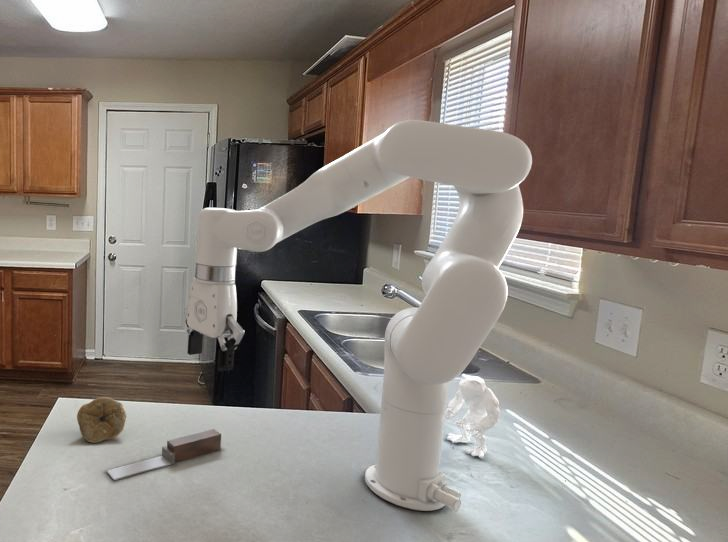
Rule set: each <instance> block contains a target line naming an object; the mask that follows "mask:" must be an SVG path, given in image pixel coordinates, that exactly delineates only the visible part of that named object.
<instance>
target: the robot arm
mask: <svg viewBox="0 0 728 542" xmlns="http://www.w3.org/2000/svg"><path fill="white" fill-rule="evenodd" d="M532 165H533V156H532V151H531V150H530V148H529V147H528V145H527V144H526V143H525V141H524V140H522V139H520V138H519V137H517V136H515V135H513V134H510V133H507V132H503V131H499V130H493V129H492V130H490V129H484V128H477V127H469V126H462V125H456V124H449V123H444V122H443V123H442V122H436V121H430V120H422V119H405V120H402V121H398V122H396V123H394V124H393V125H391V126H390V127H389V128H387V130H385V131H384V132H382V133H381V134H380V135H377V136H376V137H374V138H372V139H370V140H368V141H367V142H365V143H364V144H361V145H360V146H358V147H357V148H355V149H352V150H351V151H350V152H348V153H346V154H344V155H343V156H341V157H339V158H337V159H335V160H334V161H331V162H330V163H327V164H326V165H324V166H322V167H321V168H319V169H318V170H316V171H315V172H313V173H312V174H311V175H310V176H309V177H308V178H307V179H306V180H305V181H303V182H302V183H300V184H299V185H298V186H296V187H294V188H293V189H291V190H290V191H288V192H286V193H285V194H283V195H281V196H280V197H278V198H276V199H274V200H273V201H271V202H269V203H267V204H265V205H263V206H262V207H259V208H257V209H250V210H235V209H234V208H225V207H204V208H202V209H201V210H200V211H199V214H198V222H197V223H198V224H197V237H196V238H197V239H196V254H195V255H196V256H195V270H194V277H193V278H192V281H191V284H190V285H191V286H190V290H189V294H188V295H189V296H188V302H187V307H186V308H184V310H183V312H184V317H185V325H186V327H187V329H186V333H187V334H188V336H187V337H188V339H187V355H189V356H192V355H199V354H200V355H201V354H202V353H203V345H204V335H205V336H207V337H209V338H212V339H216V338H217V340H218V343H219V346H220V349H218V355H217V368H216V369H217V371H219V372H227V371H231V370H234V361H235V360H234V359H235V350H237V348H238V346H240V344H241V342H242V339H243V338H244V335H245V329H243V327H242V326H241V325H240V323H238V321H237V317H238V313H237V312H238V299H237V298H238V297H237V286H236V271H237V258H238V257H237V256H238V249H241V250H244V251H249V252H255V253H262V252H267V251H269V250H271V249H272V248H273V247H275V245H276V244H277V243H280V242H281V241H283V240H286V239H287V238H289V237H290V236H293V235H294V234H297V233H298V232H300V231H302V230H304V229H306V228H307V227H309V226H312V225H314V224H316V223H318V222H320V221H323V220H327V219H329V218H332V217H333V218H334V217H335V216H336V217H337V216H339V215H341V214H343V213H345V212H347V211H349V210H351V209H353V208H355V207H357V206H358V205H360V204H362V203H364V202H366V201H368V200H370V199H372V198H374V197H375V196H377V195H378V196H379V195H380V194H381V193H383V192H385V191H387V190H389V189H391V188H393V187H395V186H396V185H398V184H401V183H402V182H404V181H406V180H408V179H410V178H412V179H417V180H422V181H427V182H431V183H437V184H441V185H442V184H443V185H447V186H453V187H454V189H455V190H456V192H457V195H458V202H459V205H458V209H457V213H456V216H455V218H454V220H453V222H452V225H451V226H450V228H449V230H448V232H447V233H446V235H445V237H444V239H443V240H442V241H441V243H440V245H439V247H438V248H437V250H436V251H435V254H434V255H433V257H432V258H431V259H430V261H429V263H428V264H427V265H426V267H425V269H424V271H423V273H422V276H421V288H422V290H423V293H424V294H425V296H424V298H423V299H422V301H421V303H420V304H419V306H418V307H416V306H415V307H407V308H404V309H402V310H400V311H398V312H396V313H395V314H394V315H393V316H392V317H391V319H390V320H389V321H388V323H387V326H386V328H385V331H384V332H385V333H384V348H383V349H384V350H383V351H384V352H383V353H384V354H383V355H384V356H383V359H384V360H383V361H384V362H383V380H382V392H381V401H380V402H381V403H380V411H379V412H380V414H379V425H378V436H377V437H378V438H377V447H376V457H375V458H376V460H375V464H372V465H370V466H368V467H367V468H366V470H365V472H364V482H365V484H366V486H368V488H369V489H370V491H372V492H373V493H374V494H376V495H377V496H378V497H380V498H381V499H383V500H385V501H386V502H389V503H391V504H393V505H396V506H399V507H402V508H405V509H410V510H413V511H422V512H423V511H424V512H428V511H430V512H431V511H437V510H440V509H442V508H444V507H447V508H449V509H451V510H453V511H455V512H458V511H459V510H460V508H461V505H462V500H461V498H462V493H461V492H460V491H458V490H456V489H454V488H451V487H449V486H448V485H447V483H446V474H445V473H443V472H441V471H440V465H441V456H442V446H443V437H444V429H445V427H444V426H445V419H446V418H445V410H446V409H447V400H448V383H449V382H451V381H453V380H455V379H456V378H457V377H459V376H460V375H462V374H463V372H464V371H465V370H466V368H467V367H468V366H469V364H470V363H471V362H472V360H473V358H474V357H475V356H476V355H477V353H478V351H479V349H480V348H481V346H482V345H483V344H484V342H485V340H486V339H487V337H488V336H489V334H490V333H491V332H492V329H493V328H494V326H495V325H496V323H497V322H498V320H499V319H500V317H501V315H502V313H503V311H504V309H505V306H506V303H507V300H508V296H509V295H508V293H509V290H508V283H507V280H506V278H505V276H504V274H503V272H501V271H502V270H500V269H499V268H500V266H501V264H502V263H503V261H504V260H505V257H506V255H507V254H508V252H509V250H510V249H511V246H512V244H513V243H514V241H515V239H516V238H517V236H518V233H519V231H520V229H521V226H522V222H523V218H524V202H523V196H522V192H521V189H520V184H521V183H522V182H523V181H525V179H526V178H527V177H528V175H529V173H530V171H531V170H532ZM226 338H227V340H226Z"/></svg>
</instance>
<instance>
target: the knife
mask: <svg viewBox="0 0 728 542" xmlns="http://www.w3.org/2000/svg"><path fill="white" fill-rule="evenodd" d="M221 447H222V433H220V432H219V431H217V430H216V429H215V428H213V429H208V430H204V431H200V432H197V433H193V434H188V435H184V436H181V437H177V438H172V439H169V440H167V441H166V445H163V446H162V447H161V455H160V456H155V457H152V458H148V459H145V460H141V461H137V462H133V463H130V464H129V463H128V464H125V465H122V466H118V467H114V468H111V469H107V470H106V473H107V474H108V475H109V476H110V477H111V479H112V480H113V481H118V480H121V479H125V478H129V477H132V476H135V475H139V474H142V473H146V472H150V471H154V470H157V469H161V468H164V467H167V466H172V465H175V463H178V462H181V461H185V460H188V459H192V458H196V457H199V456H203V455H207V454H210V453H213V452H217V451H220V450H221Z"/></svg>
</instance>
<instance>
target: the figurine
mask: <svg viewBox="0 0 728 542" xmlns="http://www.w3.org/2000/svg"><path fill="white" fill-rule="evenodd" d="M464 403H465V404H466V405H467V406H468V408H467V409H468V410H467V411H466V413H465V415H464V416H462V417H461V418H460V419H459V420H457V421H453V420H454V418H455V416H457V412H458V411H460V409H461V408H462V406H463V404H464ZM499 406H500V401H499V399H498V398H497V396H496V395H495V394H494V392H493V391H492V390H491V388H489V387H487V386H486V382H485V380H484V379H483V378H481V377H480V376H478V375H469V374H465V373H461V378H460V381H459V382H458V390H457V391H456V392H455V397H453V398H452V399H450V400H449V402H448V404H447V408H446V410H445V418H444V419H446V420H448V421H453V423H454V424H453V425H454V426H456V427H457V429H459V431H460V432H461V434H453V433H448V436H446V440H448V441H451V443H453V444H457V443H467V444H468V443H471V441H472V440H471V438H472V439H474V441H475V443H476V448H473V449H466V450H465V451H466V453H467V454H471V456H472V457H479V459H481V460H482V459H483V458H485V453H486V452H487V451H488V449H487V447H486V443H487V438H486V437H485V434H486V432H487V431H489V430H491V429H493V428H495V426H497V425H498V423H499V418H500V414H501V413H500V412H501V411H500V407H499ZM470 426H471V428H470Z"/></svg>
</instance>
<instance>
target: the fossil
mask: <svg viewBox="0 0 728 542" xmlns="http://www.w3.org/2000/svg"><path fill="white" fill-rule="evenodd" d="M76 420H77V424H78V427H79V431H80V435H81V436H82V438H83V439H84V440H86V441H87V442H89V443H91V444H97V443H100V442H103V441H104V440H105V441H106V440H114V439H115V438H118V436H120V434H121V433H122V432H123V431H124V429H125V424H126V420H127V412H126V409H125V408H124V405H123V403H122V402H121V401H118V400H115V399H114V398H111V397H109V396H108V397H107V396H105V397H104V396H99V397H96V398H94V399H93V400H91V401H90V402H88V403H84V404H82V405H81V406H80V408H79V409H78V411H77V414H76Z"/></svg>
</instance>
